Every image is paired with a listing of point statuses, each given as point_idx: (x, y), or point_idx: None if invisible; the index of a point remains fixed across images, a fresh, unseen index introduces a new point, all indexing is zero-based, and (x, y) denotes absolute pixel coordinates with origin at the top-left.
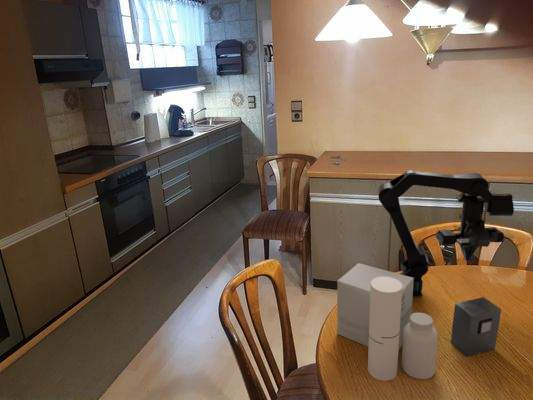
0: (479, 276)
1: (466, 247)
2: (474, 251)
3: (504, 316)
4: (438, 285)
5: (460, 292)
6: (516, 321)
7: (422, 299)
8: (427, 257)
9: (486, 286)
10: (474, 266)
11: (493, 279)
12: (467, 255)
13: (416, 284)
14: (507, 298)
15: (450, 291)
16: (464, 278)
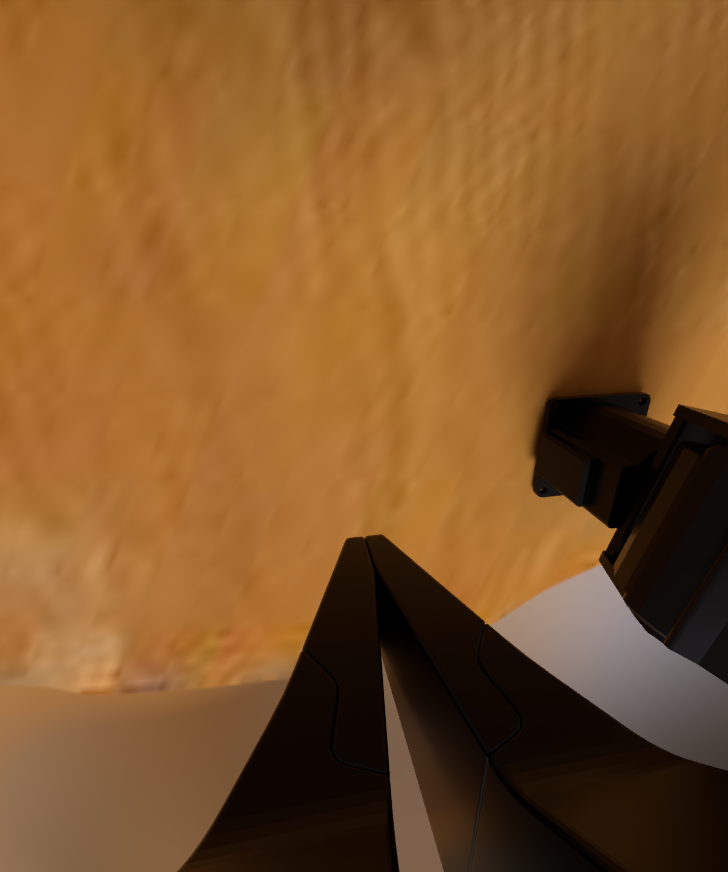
0: (151, 592)
1: (606, 771)
2: (292, 673)
3: (137, 125)
4: (414, 501)
5: (324, 433)
6: (63, 37)
7: (560, 367)
8: (692, 613)
9: (144, 495)
10: (147, 679)
11: (75, 567)
12: (411, 588)
13: (630, 430)
14: (44, 361)
15: (376, 444)
16: (245, 569)
